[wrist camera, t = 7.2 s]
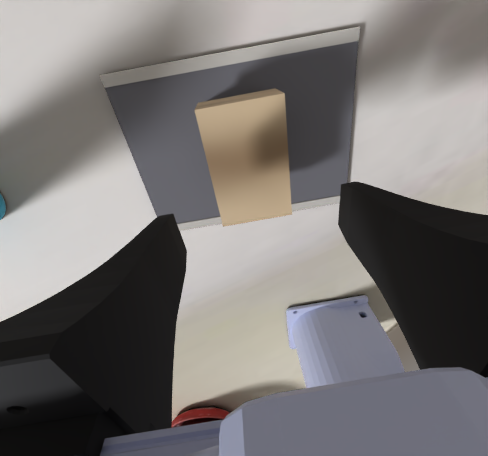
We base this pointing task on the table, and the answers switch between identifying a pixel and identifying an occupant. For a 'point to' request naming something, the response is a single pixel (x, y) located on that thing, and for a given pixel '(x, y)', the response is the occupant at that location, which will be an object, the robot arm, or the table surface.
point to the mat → (232, 84)
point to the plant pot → (199, 416)
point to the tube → (2, 207)
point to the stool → (247, 155)
